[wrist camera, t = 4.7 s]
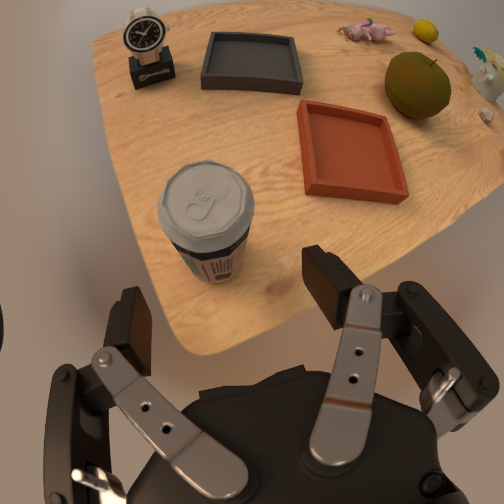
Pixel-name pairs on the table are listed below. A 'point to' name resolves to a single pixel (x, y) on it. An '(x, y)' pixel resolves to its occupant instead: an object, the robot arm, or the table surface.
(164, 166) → the table surface
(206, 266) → the beer can
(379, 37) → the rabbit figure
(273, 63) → the grey tray
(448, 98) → the apple
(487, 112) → the game die
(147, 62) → the watch
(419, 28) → the tennis ball
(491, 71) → the character sculpture
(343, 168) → the terracotta tray
